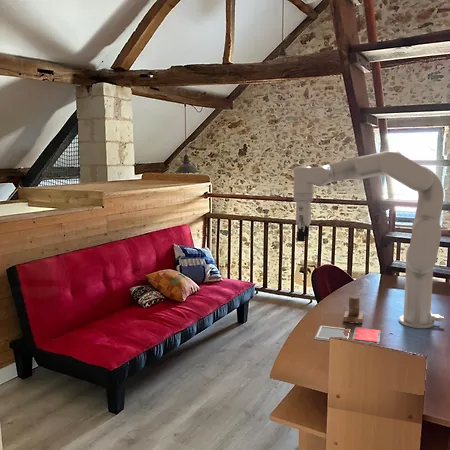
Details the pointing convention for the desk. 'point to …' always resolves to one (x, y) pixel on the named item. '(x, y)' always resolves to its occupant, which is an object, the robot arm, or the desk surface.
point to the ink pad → (367, 335)
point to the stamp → (353, 311)
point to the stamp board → (330, 333)
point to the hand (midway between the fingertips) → (302, 238)
